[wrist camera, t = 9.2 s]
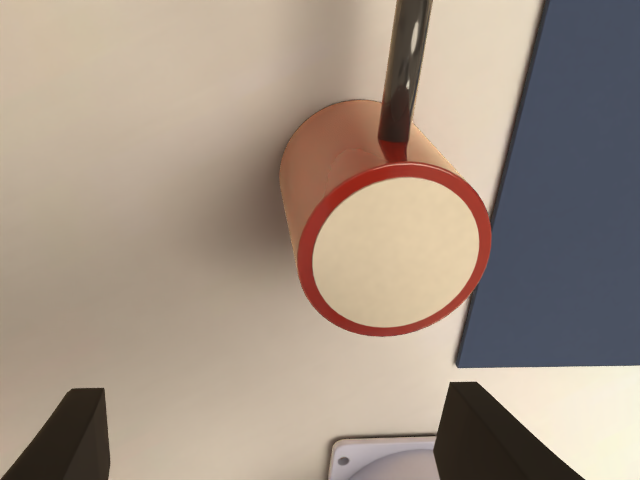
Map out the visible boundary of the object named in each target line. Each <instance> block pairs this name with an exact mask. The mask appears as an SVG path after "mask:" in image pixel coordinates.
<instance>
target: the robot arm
mask: <svg viewBox="0 0 640 480" xmlns="http://www.w3.org/2000/svg"><path fill="white" fill-rule="evenodd" d="M342 457H345V458H343V459H340V458H342ZM109 469H110V451H109V439H108V426H107V414H106V402H105V389H104V388H74V389H71V390H70V391H69V392H67V393H66V395H65V396H64V398H63V399H62V401H61V402H60V404H59V405H58V406H57V408H56V409H55V411H54V412H53V413H52V415H51V416H50V418H49V419H48V420H47V422H46V423H45V424H44V426H43V427H42V428H41V430H40V431H39V432H38V434H37V435H36V436H35V438H34V439H33V440H32V442H31V443H30V444H29V445H28V447H27V448H26V449H25V450H24V452H23V453H22V454H21V455H20V456H19V458H18V459H17V460H16V461H15V463H14V464H13V465H12V466H11V468H10V469H9V470H8V471H7V472H6V474H5V475H4V476H3V477H2V478H1V480H108V476H109ZM328 480H585V479H584V478H582V477H581V476H580V475H579V474H578V473H576V472H575V471H574V470H573V469H571V468H570V467H569V466H568V465H567V464H566V463H564V462H563V461H562V460H561V459H560V458H559V457H557V456H556V455H555V454H554V453H553V452H552V451H551V450H549V449H548V448H547V447H546V446H545V445H544V444H543V443H542V442H541V441H540V440H538V439H537V438H536V437H535V436H534V435H533V434H532V433H531V432H530V431H529V430H528V429H526V428H525V427H524V426H523V425H522V424H521V423H520V422H519V421H518V420H517V419H516V418H515V417H514V416H513V415H512V414H511V413H509V412H508V411H507V410H506V409H505V408H504V407H503V406H502V405H501V404H500V403H499V402H498V401H497V400H496V399H495V398H494V397H493V396H492V395H491V394H489V393H488V392H487V391H486V390H485V389H484V388H483V387H482V386H481V385H480V384H478V383H477V382H450V384H449V388H448V392H447V396H446V400H445V404H444V408H443V412H442V416H441V420H440V424H439V428H438V432H437V436H427V437H397V438H367V439H343V440H339V441H337V442H336V443H335V444H334V445H333V448H332V455H331V462H330V469H329V475H328Z"/></svg>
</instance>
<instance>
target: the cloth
mask: <svg viewBox="0 0 640 480" xmlns="http://www.w3.org/2000/svg"><path fill="white" fill-rule="evenodd" d="M490 224H491V233H492V238H491V250H490V256H489V260H488V263H487V266H486V269H485V271H484V273H483V275H482V277H481V279H480V281H479V282H478V284H477V286H476V287H475V289H474V291H473V295H472V299H471V303H470V307H469V311H468V315H467V320H466V324H465V328H464V332H463V336H462V340H461V344H460V348H459V352H458V356H457V360H456V366H457V368H495V367H564V366H634V365H640V0H546V1H545V5H544V9H543V13H542V17H541V21H540V25H539V29H538V33H537V37H536V41H535V45H534V49H533V53H532V57H531V62H530V66H529V70H528V74H527V78H526V82H525V86H524V90H523V94H522V98H521V102H520V106H519V110H518V114H517V118H516V122H515V126H514V130H513V134H512V138H511V142H510V146H509V150H508V154H507V158H506V162H505V166H504V170H503V174H502V178H501V182H500V186H499V191H498V195H497V199H496V203H495V207H494V211H493V215H492V219H491V223H490Z"/></svg>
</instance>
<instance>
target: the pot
mask: <svg viewBox="0 0 640 480" xmlns="http://www.w3.org/2000/svg"><path fill="white" fill-rule="evenodd" d="M432 3H433V0H397V2H396V9H395V16H394V22H393V29H392V36H391V43H390V50H389V57H388V64H387V71H386V78H385V85H384V92H383V99H382V103H379V102H376V101H369V100H351V101H344V102H340V103H337V104H333V105H331V106H328V107H326V108H324V109H322V110H320V111H319V112H317V113H315V114H314V115H312V116H311V117H310V118H308V119H307V120H306V121H305V122H304V123H303V124H302V125H301V126H300V127H299V128H298V129H297V130H296V132H295V133H294V134H293V135H292V137H291V139H290V140H289V142H288V144H287V146H286V148H285V151H284V153H283V156H282V160H281V164H280V171H279V182H280V190H281V195H282V200H283V204H284V209H285V214H286V219H287V224H288V229H289V234H290V238H291V243H292V248H293V253H294V258H295V263H296V267H297V272H298V277H299V280H300V284H301V287H302V289H303V291H304V293H305V295H306V297H307V299H308V300H309V302H310V303H311V305H312V306H313V307H314V308H315V309H316V310H317V311H318V312H319V313H320V314H321V315H322V316H323V317H324V318H326V319H327V320H328V321H330V322H331V323H333V324H335V325H336V326H338V327H340V328H343V329H345V330H347V331H350V332H353V333H357V334H361V335H367V336H379V337H384V336H396V335H402V334H407V333H411V332H414V331H418V330H420V329H423V328H425V327H428V326H430V325H432V324H434V323H436V322H438V321H440V320H441V319H443V318H444V317H446V316H447V315H449V314H450V313H451V312H453V311H454V310H455V309H456V308H458V307H459V306H460V305H461V304H462V303H463V302H464V301H465V300H466V299H467V298H468V296H469V295H470V294H471V293H472V291H473V290H474V289H475V287H476V286H477V284H478V282H479V281H480V279H481V277H482V275H483V273H484V271H485V269H486V266H487V263H488V260H489V256H490V250H491V238H492V233H491V224H490V220H489V216H488V212H487V210H486V208H485V206H484V203H483V201H482V200H481V198H480V197H479V195H478V194H477V192H476V191H475V190H474V189H473V188H472V187H471V186H470V185H469V183H468V182H467V181H466V180H465V179H464V178H463V177H462V176H461V175H460V174H459V173H458V171H457V170H456V169H455V168H454V167H453V166H452V165H451V164H450V163H449V162H448V161H447V159H446V158H445V157H444V156H443V155H442V154H441V153H440V152H439V151H438V150H437V149H436V147H435V146H434V145H433V144H432V143H431V142H430V141H429V140H428V139H427V138H426V137H425V135H424V134H423V133H422V132H421V131H420V130H419V129H418V128H417V127H416V126H415V125H414V123H413V122H412V121H413V115H414V109H415V103H416V97H417V91H418V86H419V80H420V74H421V68H422V62H423V56H424V50H425V44H426V38H427V32H428V26H429V21H430V15H431V9H432Z"/></svg>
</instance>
